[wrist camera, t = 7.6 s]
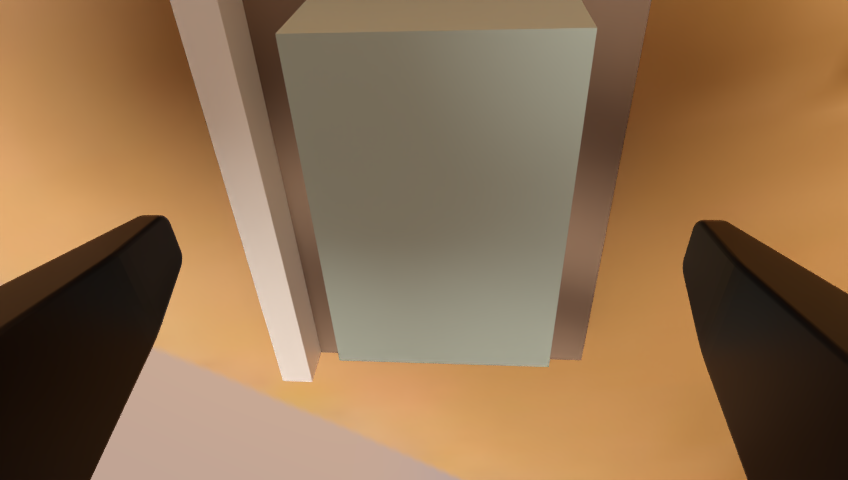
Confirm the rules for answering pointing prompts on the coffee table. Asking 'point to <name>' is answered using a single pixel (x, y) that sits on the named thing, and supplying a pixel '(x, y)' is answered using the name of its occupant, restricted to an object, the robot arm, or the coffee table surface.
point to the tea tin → (440, 169)
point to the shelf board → (595, 179)
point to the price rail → (250, 173)
